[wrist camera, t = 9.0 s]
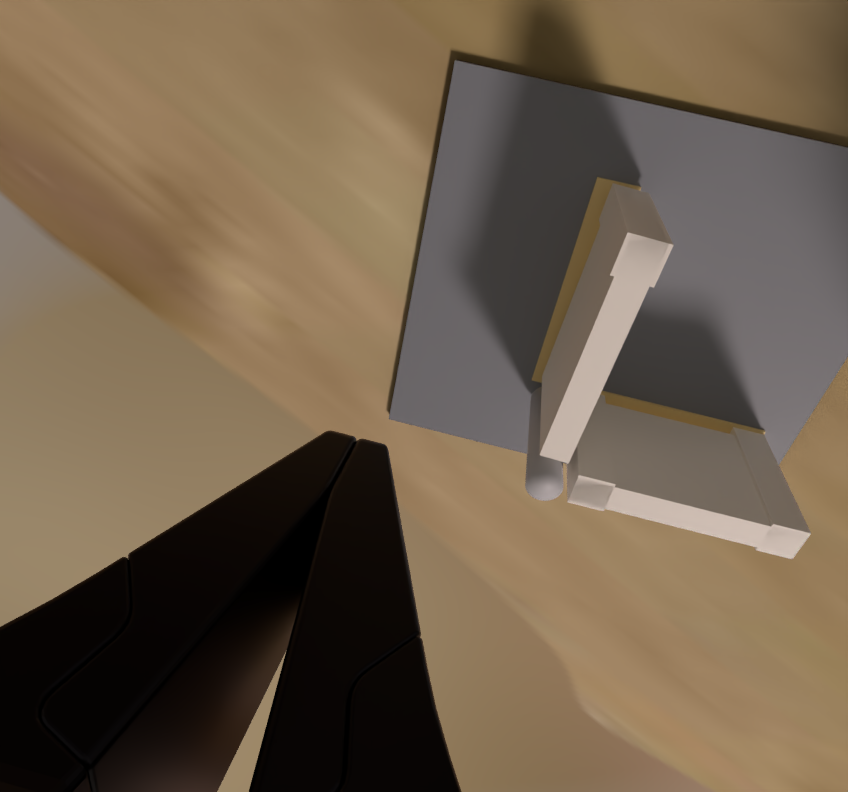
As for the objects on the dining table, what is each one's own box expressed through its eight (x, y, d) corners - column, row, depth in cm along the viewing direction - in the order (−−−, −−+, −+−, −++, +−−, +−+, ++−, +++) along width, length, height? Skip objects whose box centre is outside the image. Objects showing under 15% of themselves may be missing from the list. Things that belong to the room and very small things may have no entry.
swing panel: (555, 415, 21) (555, 504, 17) (526, 407, 21) (520, 494, 17) (649, 193, 17) (675, 248, 13) (612, 183, 17) (628, 235, 13)
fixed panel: (764, 434, 20) (811, 533, 17) (749, 458, 21) (792, 559, 17) (574, 388, 21) (578, 475, 17) (565, 412, 21) (567, 502, 18)
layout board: (959, 171, 16) (966, 174, 16) (748, 505, 22) (750, 512, 22) (455, 59, 17) (454, 60, 16) (390, 415, 23) (388, 420, 23)
